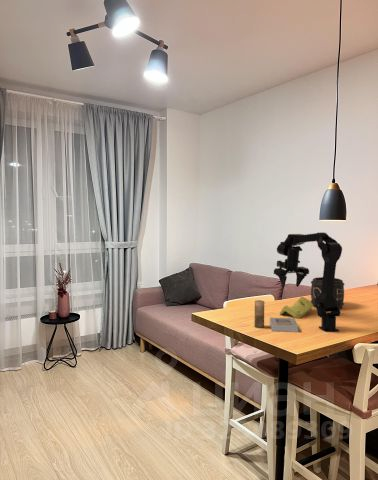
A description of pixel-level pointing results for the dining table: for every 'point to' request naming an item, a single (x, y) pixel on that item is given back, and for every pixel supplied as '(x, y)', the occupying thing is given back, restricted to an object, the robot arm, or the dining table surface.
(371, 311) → the dining table surface
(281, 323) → the hole plate
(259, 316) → the walnut peg
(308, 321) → the dining table surface
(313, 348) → the dining table surface
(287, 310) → the plastic component
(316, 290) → the patterned black pot
